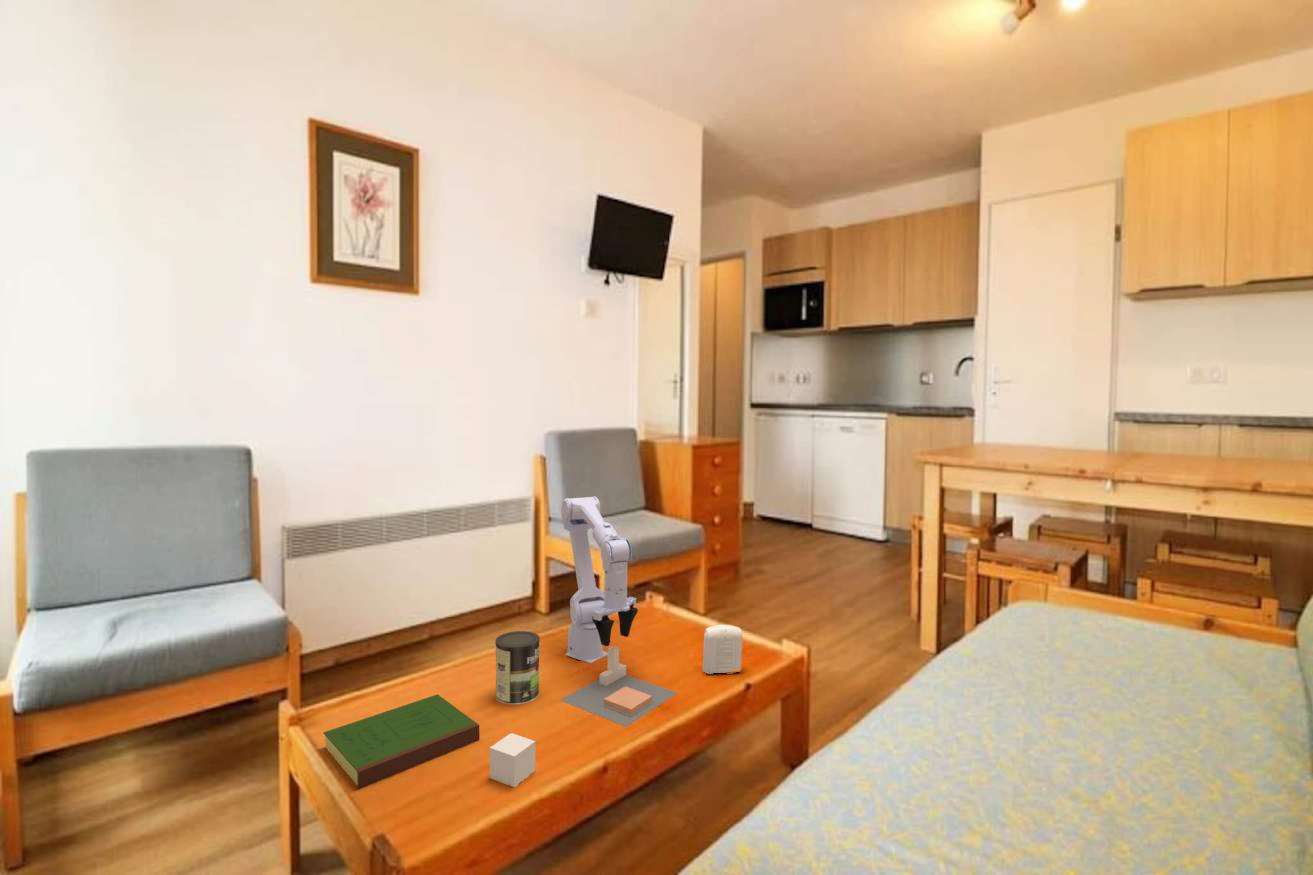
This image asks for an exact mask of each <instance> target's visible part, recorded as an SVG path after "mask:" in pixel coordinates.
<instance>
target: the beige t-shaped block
mask: <svg viewBox="0 0 1313 875" xmlns="http://www.w3.org/2000/svg"><path fill="white" fill-rule="evenodd" d="M607 652H608V655H607V670H605V671H602V672H600V673H599V679H600V684H601V685H604V686H607V685H609V684H611V683H612V682H614V681H616V680H618V679H619V678H621V677H623V676H625V675H627V665H626V664H624V663H620V647H617V646H611V647H610V646H609V647H608V648H607Z"/></svg>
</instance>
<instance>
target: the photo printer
mask: <svg viewBox="0 0 1313 875" xmlns="http://www.w3.org/2000/svg"><path fill="white" fill-rule="evenodd" d="M742 650H743V632H742V629H741V627H738V626H735V625H731V624H718V625H717V624H716V625H714V626H710V627H707V628H705V630H704V634H703V653H702V654H703V655H702V672H703V673H704V672H705V673H704V674H706V673H707V674H706V675H714V674H713V673H721V672H731V671H739V670H741V671H742V654H743V651H742Z"/></svg>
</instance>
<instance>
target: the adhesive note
mask: <svg viewBox="0 0 1313 875" xmlns="http://www.w3.org/2000/svg"><path fill="white" fill-rule="evenodd" d="M534 772H536V741H535V740H533V739H530V738H527V737H524V736H521V735H519V734H516V733H509V734H507V735H506V736H504V737H503V738H502V739H500V740H499V741H497V742H496V743H494V744H493V745H491V746H490V747H489V779H491V780H494V781H496V782H499V783H501V784H504V785H507V786H509V785H510V787H513V788H516V787H518V785H519V783H520V782H521V781H522V782H523V781H524V779H525V778H526V779H527V778H528V777H530V776H531V775H530V774H533V773H534ZM526 779H525V780H526ZM522 782H521V783H522ZM521 783H520V784H521Z"/></svg>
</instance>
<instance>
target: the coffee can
mask: <svg viewBox="0 0 1313 875" xmlns="http://www.w3.org/2000/svg"><path fill="white" fill-rule="evenodd" d="M540 639H541V637H540V636H539V634H538V633H535V632H532V631H525V630H521V631H520V630H518V631H517V630H516V631H510V632H506V633H502V634H501V635H498V636H497V637H496V639H495V700H496V702H500V703H502V704H506V705H521V704H522V705H523V704H527V703H530V702H532V701H534V700H535V699H537V698H538V696H540V695H539V694H540Z"/></svg>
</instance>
